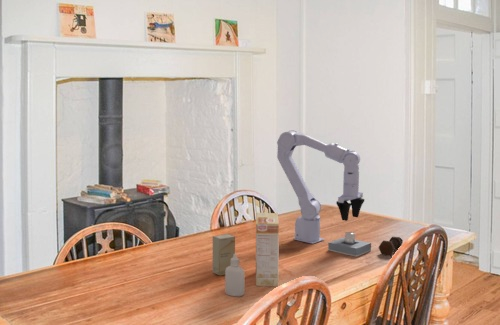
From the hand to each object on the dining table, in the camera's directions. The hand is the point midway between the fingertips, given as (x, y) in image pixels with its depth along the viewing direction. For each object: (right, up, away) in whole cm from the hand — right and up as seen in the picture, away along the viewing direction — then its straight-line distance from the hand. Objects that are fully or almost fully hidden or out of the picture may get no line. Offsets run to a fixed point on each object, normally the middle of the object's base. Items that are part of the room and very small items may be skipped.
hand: (350, 218), depth 220 cm
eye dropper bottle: (-43, -17, -53) cm, 70 cm away
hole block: (-2, -11, -8) cm, 14 cm away
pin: (-2, -10, -8) cm, 13 cm away
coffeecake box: (-33, -15, -39) cm, 53 cm away
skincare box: (-47, -14, -33) cm, 59 cm away
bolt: (+15, -11, -7) cm, 20 cm away
